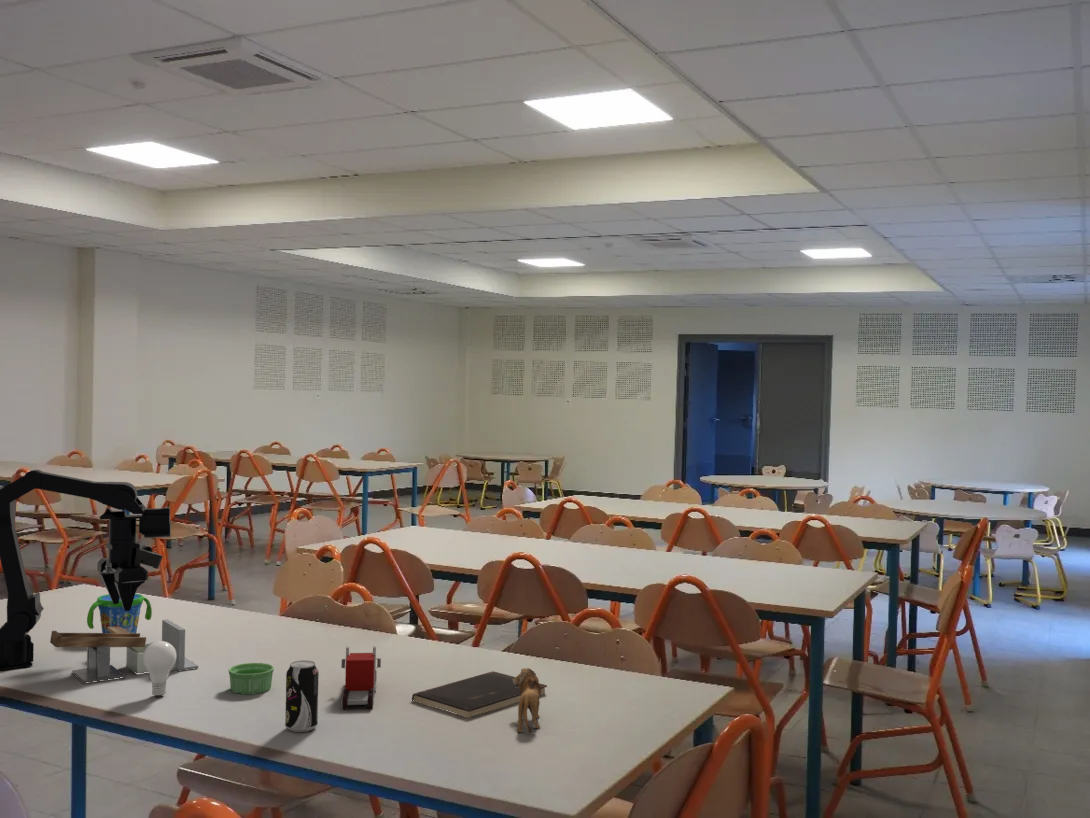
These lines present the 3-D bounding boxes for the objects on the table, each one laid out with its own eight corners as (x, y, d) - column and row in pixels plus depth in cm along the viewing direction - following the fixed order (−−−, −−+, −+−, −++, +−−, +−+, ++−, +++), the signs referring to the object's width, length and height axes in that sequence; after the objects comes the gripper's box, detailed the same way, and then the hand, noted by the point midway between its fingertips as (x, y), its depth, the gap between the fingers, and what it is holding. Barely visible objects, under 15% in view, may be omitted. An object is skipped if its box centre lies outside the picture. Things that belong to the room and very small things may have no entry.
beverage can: (279, 728, 184) (280, 662, 184) (306, 721, 188) (308, 657, 188) (295, 736, 180) (297, 669, 180) (323, 729, 184) (324, 663, 184)
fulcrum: (83, 684, 209) (84, 649, 209) (72, 673, 217) (72, 640, 217) (124, 678, 214) (124, 644, 214) (111, 667, 222) (111, 635, 221)
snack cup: (142, 629, 258) (143, 589, 257) (159, 637, 250) (160, 596, 250) (78, 638, 247) (79, 597, 247) (94, 646, 239) (95, 604, 239)
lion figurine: (511, 711, 197) (512, 665, 197) (538, 711, 197) (539, 665, 197) (517, 736, 182) (518, 687, 182) (546, 736, 183) (547, 686, 183)
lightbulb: (140, 702, 198) (141, 646, 197) (143, 692, 204) (144, 638, 204) (174, 700, 199) (175, 644, 199) (177, 690, 205) (178, 637, 205)
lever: (56, 650, 207) (58, 636, 207) (35, 631, 222) (37, 618, 222) (145, 649, 218) (147, 636, 218) (120, 632, 233) (122, 620, 233)
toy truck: (381, 683, 215) (381, 636, 215) (378, 711, 196) (379, 660, 196) (342, 684, 214) (343, 637, 214) (336, 712, 195) (337, 660, 195)
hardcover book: (546, 696, 209) (547, 685, 209) (468, 722, 192) (468, 710, 192) (490, 681, 219) (490, 670, 219) (411, 704, 202) (411, 692, 202)
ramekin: (281, 685, 211) (282, 664, 211) (258, 697, 202) (258, 675, 202) (243, 681, 213) (244, 660, 213) (219, 693, 205) (219, 671, 205)
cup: (137, 675, 216) (137, 654, 216) (126, 666, 223) (126, 646, 223) (176, 669, 221) (176, 648, 221) (164, 661, 228) (164, 641, 228)
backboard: (178, 671, 220) (179, 630, 220) (161, 659, 229) (162, 619, 229) (198, 668, 222) (198, 627, 222) (180, 656, 232) (180, 617, 232)
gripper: (172, 541, 225) (171, 610, 226) (146, 531, 240) (145, 596, 240) (119, 544, 219) (118, 616, 219) (97, 534, 233) (96, 601, 233)
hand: (121, 607), depth 228 cm, fingers open, 9 cm apart
